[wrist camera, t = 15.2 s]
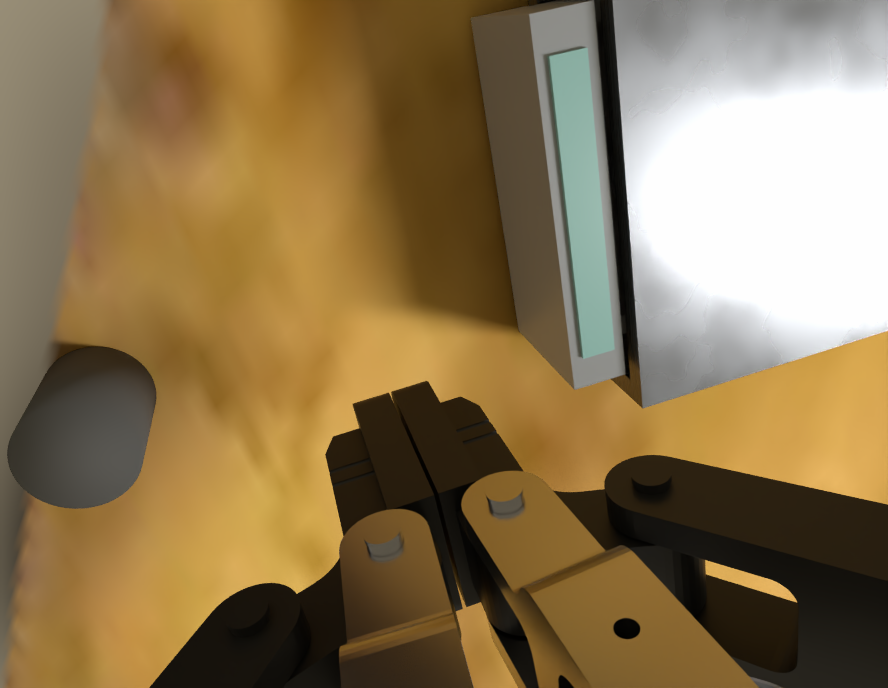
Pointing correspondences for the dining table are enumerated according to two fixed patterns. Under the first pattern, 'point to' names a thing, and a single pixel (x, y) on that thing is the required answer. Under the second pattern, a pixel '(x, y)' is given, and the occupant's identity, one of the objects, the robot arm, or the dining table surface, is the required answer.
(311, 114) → the dining table surface
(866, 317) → the housing
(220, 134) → the dining table surface
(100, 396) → the capsule
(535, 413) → the dining table surface
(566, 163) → the tray
